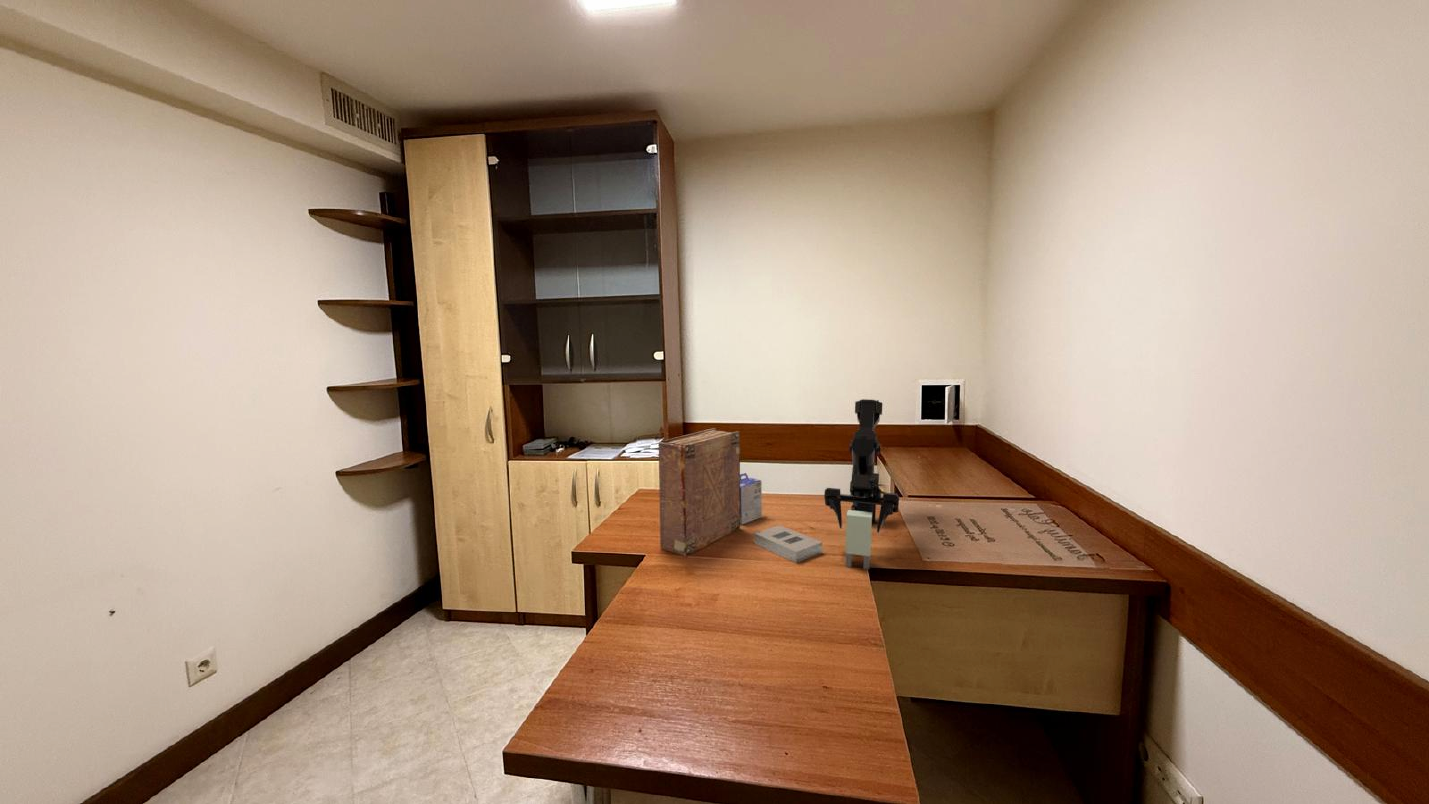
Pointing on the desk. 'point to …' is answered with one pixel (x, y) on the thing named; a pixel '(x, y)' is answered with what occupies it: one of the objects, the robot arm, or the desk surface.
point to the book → (698, 489)
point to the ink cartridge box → (750, 499)
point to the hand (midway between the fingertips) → (859, 529)
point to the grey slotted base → (788, 543)
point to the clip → (858, 536)
